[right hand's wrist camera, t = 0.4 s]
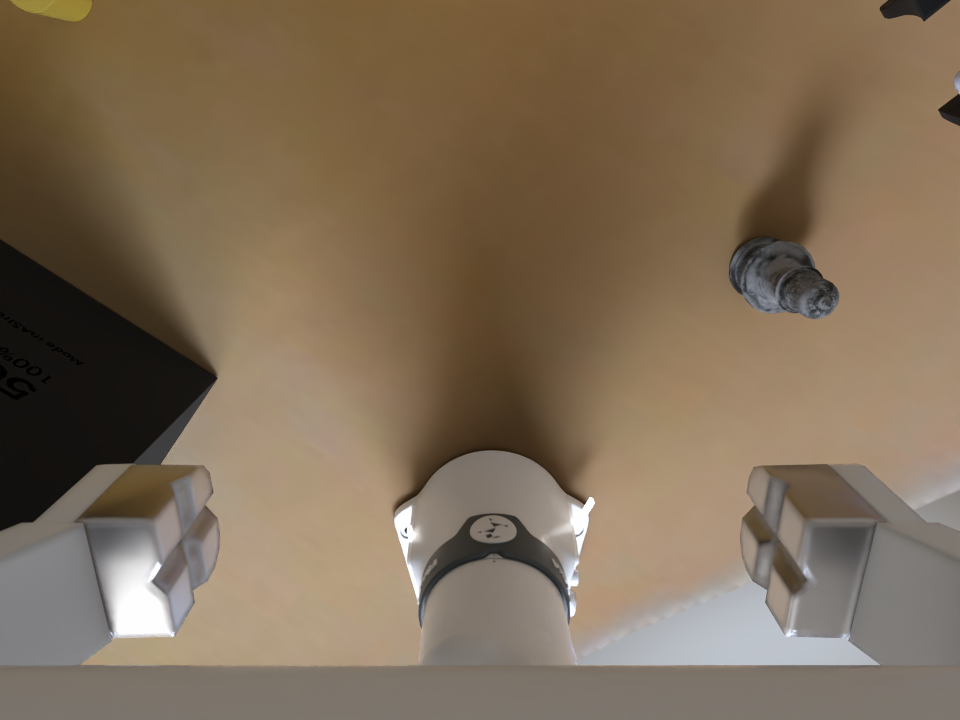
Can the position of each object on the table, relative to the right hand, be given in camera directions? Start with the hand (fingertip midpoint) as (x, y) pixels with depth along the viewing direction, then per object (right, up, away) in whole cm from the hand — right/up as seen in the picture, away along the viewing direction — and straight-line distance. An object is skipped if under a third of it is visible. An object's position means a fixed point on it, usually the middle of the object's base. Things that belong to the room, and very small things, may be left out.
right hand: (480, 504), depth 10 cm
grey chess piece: (+24, +10, +46) cm, 53 cm away
